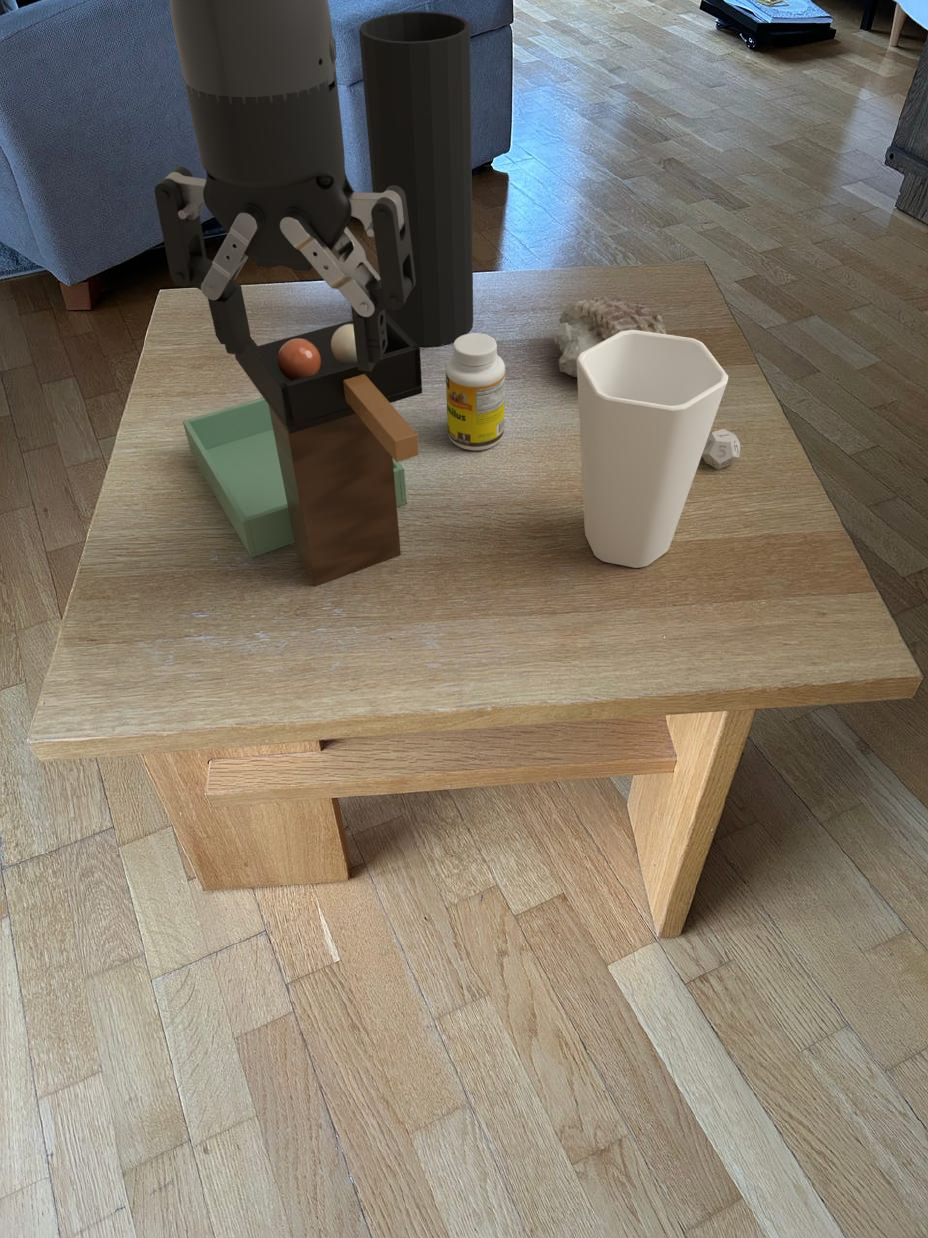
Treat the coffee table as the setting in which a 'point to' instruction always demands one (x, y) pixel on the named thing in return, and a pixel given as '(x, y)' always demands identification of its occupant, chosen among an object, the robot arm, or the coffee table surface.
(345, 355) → the cream ball
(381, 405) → the pan
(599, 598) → the coffee table surface
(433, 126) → the vase
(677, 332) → the coffee table surface
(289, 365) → the terracotta ball
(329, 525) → the block
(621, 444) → the cup
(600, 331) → the seashell
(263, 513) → the tray
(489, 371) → the supplement bottle
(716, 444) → the game die
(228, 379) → the coffee table surface
